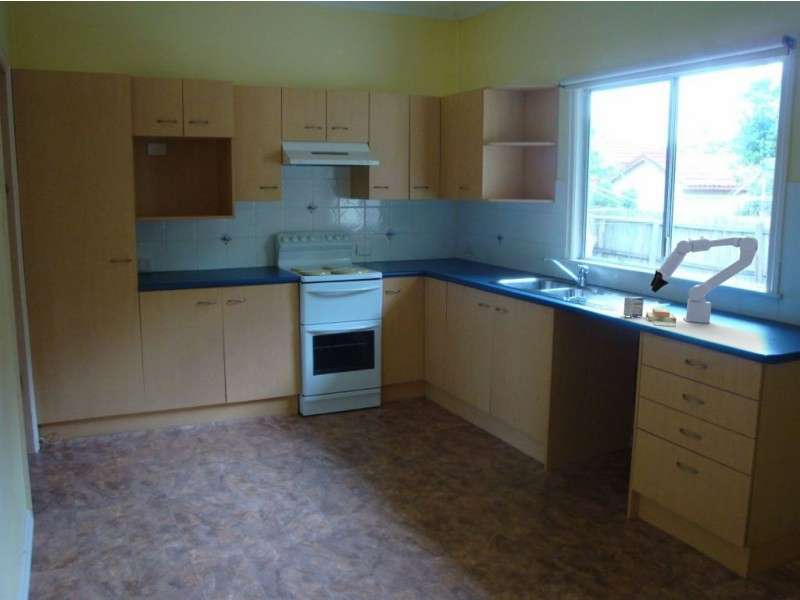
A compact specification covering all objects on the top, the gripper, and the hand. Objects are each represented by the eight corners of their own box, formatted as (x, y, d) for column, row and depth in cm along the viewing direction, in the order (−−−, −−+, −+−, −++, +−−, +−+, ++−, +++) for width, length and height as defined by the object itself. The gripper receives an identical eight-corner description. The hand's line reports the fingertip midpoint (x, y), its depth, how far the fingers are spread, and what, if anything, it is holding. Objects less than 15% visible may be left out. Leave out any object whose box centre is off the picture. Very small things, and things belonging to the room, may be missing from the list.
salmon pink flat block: (666, 313, 321) (667, 309, 321) (669, 317, 313) (669, 312, 312) (652, 312, 322) (652, 308, 322) (654, 316, 314) (655, 311, 313)
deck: (672, 318, 321) (672, 314, 321) (675, 323, 310) (676, 318, 310) (646, 316, 323) (646, 312, 323) (648, 321, 313) (649, 316, 312)
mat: (672, 322, 310) (672, 322, 310) (675, 326, 301) (675, 326, 301) (652, 321, 312) (652, 320, 312) (655, 325, 303) (655, 324, 303)
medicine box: (631, 318, 319) (633, 298, 317) (622, 316, 322) (624, 297, 321) (642, 316, 323) (644, 297, 322) (634, 315, 327) (635, 296, 325)
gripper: (662, 255, 326) (644, 279, 331) (664, 263, 313) (645, 288, 318) (676, 263, 326) (657, 288, 331) (679, 271, 312) (660, 297, 318)
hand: (652, 288), depth 324 cm, fingers open, 7 cm apart
